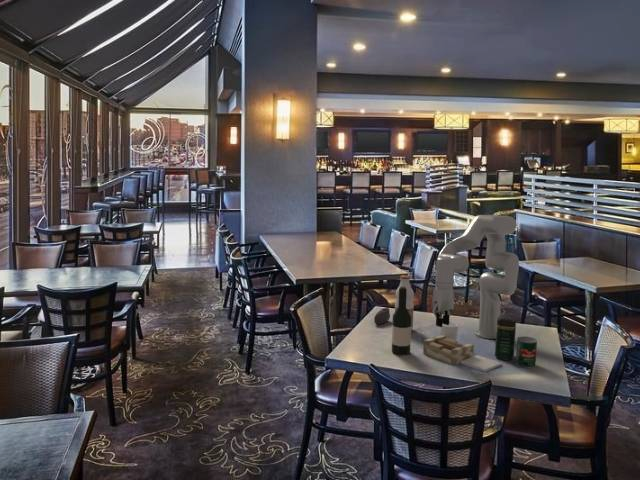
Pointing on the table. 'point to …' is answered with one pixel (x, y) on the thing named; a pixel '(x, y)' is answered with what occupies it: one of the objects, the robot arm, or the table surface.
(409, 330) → the wine bottle
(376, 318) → the perforated stone tool
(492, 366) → the ceramic coaster
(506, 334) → the coffee jar
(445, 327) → the white cup
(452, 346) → the wooden block
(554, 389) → the table surface
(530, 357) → the canned tomato
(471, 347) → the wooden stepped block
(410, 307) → the fruit juice
